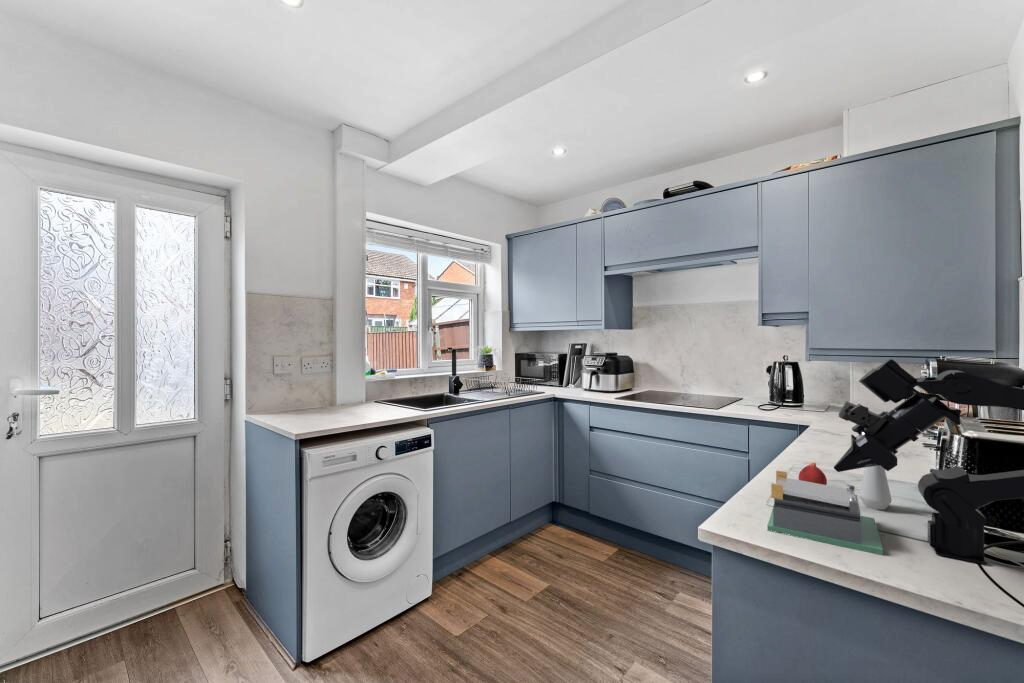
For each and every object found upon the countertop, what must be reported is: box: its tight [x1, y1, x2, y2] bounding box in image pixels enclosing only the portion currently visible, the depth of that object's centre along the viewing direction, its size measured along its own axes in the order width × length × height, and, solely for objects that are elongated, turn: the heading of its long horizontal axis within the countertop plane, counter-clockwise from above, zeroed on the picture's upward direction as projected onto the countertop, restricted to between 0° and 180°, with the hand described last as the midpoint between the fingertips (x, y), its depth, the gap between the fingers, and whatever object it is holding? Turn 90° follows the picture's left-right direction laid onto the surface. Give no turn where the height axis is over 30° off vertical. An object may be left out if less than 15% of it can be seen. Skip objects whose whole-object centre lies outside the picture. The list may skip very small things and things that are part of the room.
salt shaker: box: [858, 465, 893, 511], centre depth 101 cm, size 6×6×13 cm
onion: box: [797, 462, 828, 485], centre depth 110 cm, size 6×6×8 cm
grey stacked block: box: [770, 469, 861, 544], centre depth 92 cm, size 14×16×8 cm
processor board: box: [767, 508, 884, 556], centre depth 91 cm, size 18×17×1 cm
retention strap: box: [775, 477, 856, 507], centre depth 91 cm, size 14×10×1 cm
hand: (835, 469), depth 89 cm, fingers closed
